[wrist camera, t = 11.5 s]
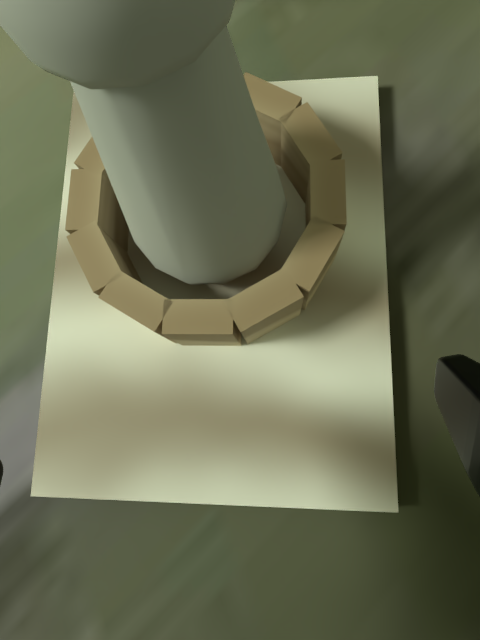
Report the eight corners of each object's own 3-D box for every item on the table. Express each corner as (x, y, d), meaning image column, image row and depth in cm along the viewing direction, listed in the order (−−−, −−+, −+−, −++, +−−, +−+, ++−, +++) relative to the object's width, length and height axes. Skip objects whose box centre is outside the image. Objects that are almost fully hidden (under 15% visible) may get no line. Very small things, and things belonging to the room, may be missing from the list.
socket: (392, 507, 16) (426, 539, 12) (41, 491, 17) (-24, 517, 14) (373, 89, 19) (395, 14, 16) (81, 104, 21) (37, 39, 17)
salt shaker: (225, 327, 17) (58, 112, 4) (123, 246, 18) (-249, -115, 5) (313, 219, 18) (398, -261, 5) (209, 146, 19) (55, -398, 6)
